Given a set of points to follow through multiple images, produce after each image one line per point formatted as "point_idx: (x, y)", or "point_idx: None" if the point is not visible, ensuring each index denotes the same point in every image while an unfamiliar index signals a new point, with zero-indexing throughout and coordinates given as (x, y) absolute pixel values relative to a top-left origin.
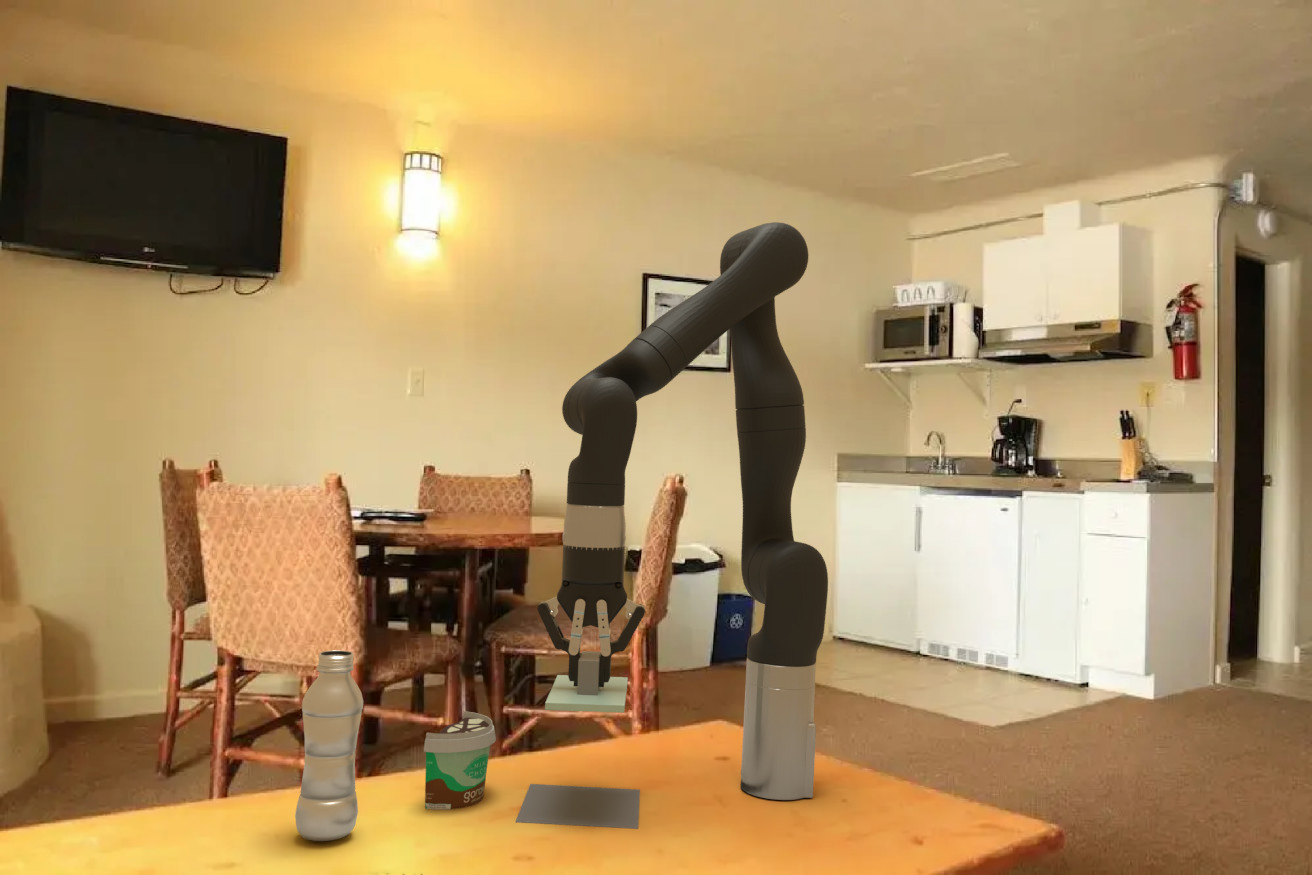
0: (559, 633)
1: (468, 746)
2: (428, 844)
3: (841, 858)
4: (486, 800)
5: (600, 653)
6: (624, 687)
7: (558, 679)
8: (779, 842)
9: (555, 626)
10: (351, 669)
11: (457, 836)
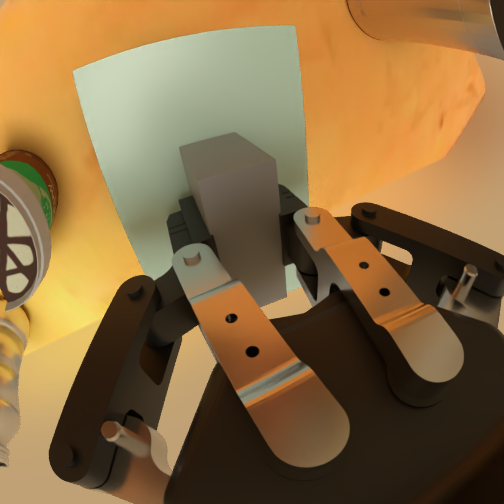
0: (171, 372)
1: (44, 274)
2: (78, 288)
3: (400, 168)
4: (47, 154)
5: (282, 214)
6: (301, 147)
7: (96, 128)
8: (371, 148)
9: (162, 402)
10: (4, 448)
11: (86, 263)
